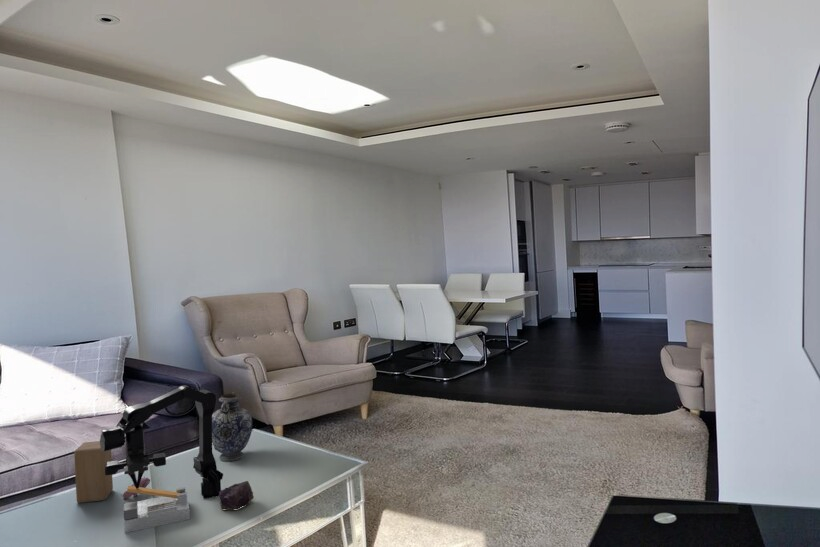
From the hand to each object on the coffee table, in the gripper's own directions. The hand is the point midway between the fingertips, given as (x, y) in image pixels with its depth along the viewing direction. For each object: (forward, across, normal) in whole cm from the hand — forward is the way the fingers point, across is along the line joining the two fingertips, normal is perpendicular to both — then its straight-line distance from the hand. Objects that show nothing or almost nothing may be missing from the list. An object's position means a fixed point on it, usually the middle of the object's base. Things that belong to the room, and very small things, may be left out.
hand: (137, 487), depth 193 cm
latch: (+7, -2, -6) cm, 9 cm away
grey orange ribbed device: (+11, +6, -2) cm, 12 cm away
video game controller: (+11, -1, +22) cm, 25 cm away
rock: (+11, +32, -8) cm, 35 cm away
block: (+11, -15, +27) cm, 33 cm away
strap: (+3, +6, 0) cm, 7 cm away
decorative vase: (+11, +37, +44) cm, 58 cm away
